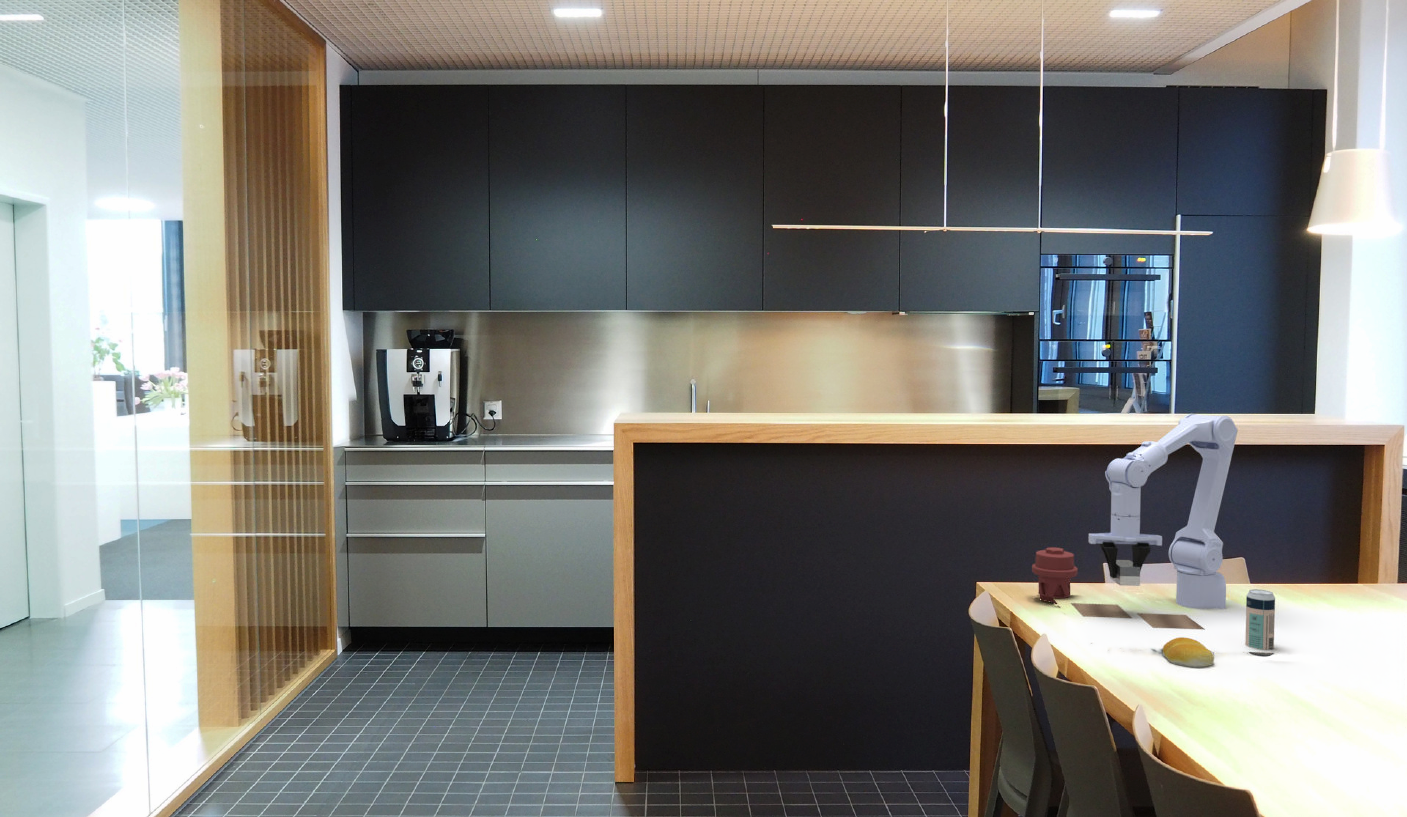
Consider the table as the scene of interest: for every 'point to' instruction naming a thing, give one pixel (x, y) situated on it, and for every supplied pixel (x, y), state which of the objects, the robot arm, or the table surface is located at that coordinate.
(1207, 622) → the table surface
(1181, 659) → the bread roll
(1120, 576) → the block
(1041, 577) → the mechanical component
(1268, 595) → the beer can
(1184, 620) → the stand
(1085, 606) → the stand
